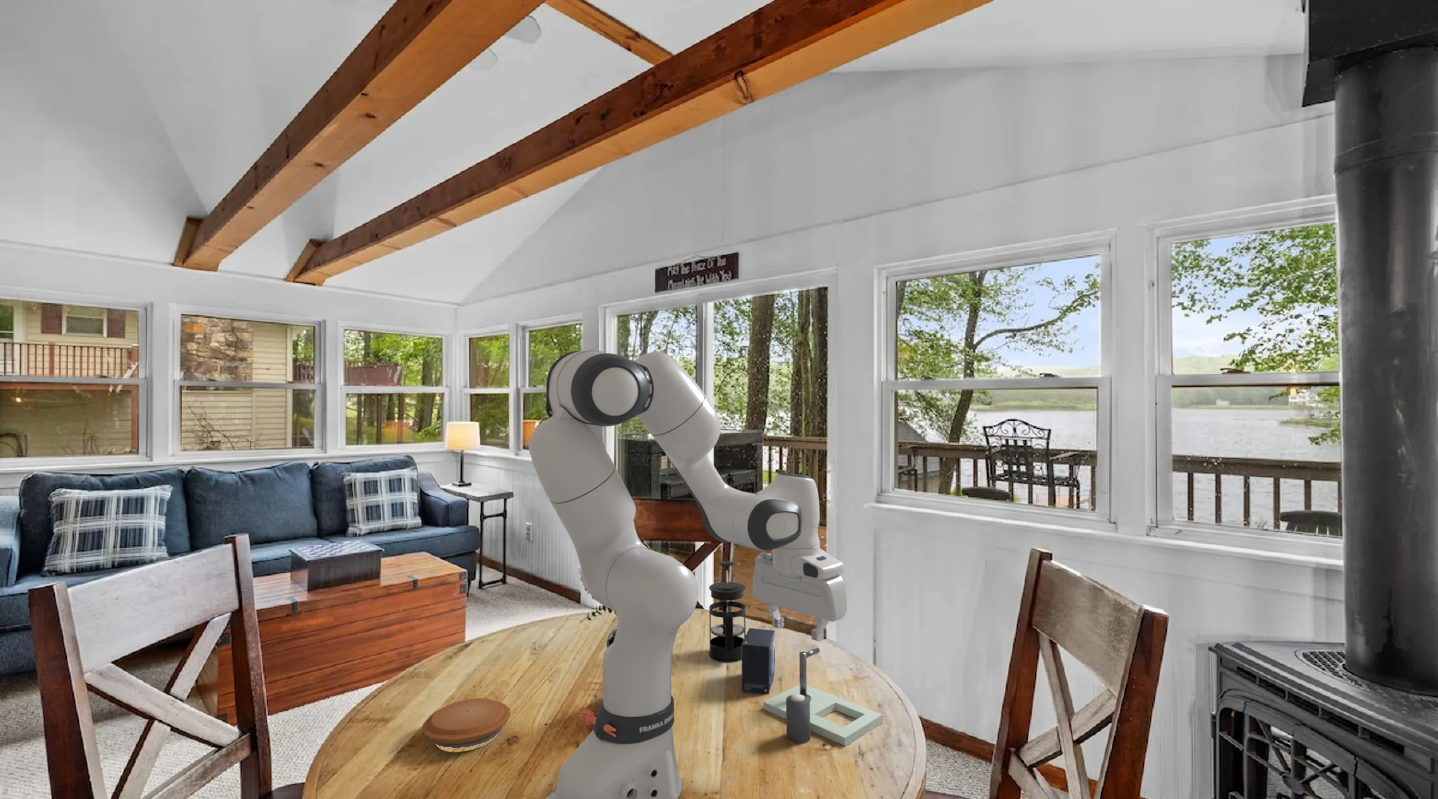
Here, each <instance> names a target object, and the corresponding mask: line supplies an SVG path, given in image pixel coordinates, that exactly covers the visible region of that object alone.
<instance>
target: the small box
mask: <svg viewBox="0 0 1438 799" xmlns="http://www.w3.org/2000/svg"><path fill="white" fill-rule="evenodd" d="M775 632H776V631H775V630H773V629H763V628H752V627H749V628H748V630H747V631H746V636H745V638H744V637H743V639H744V640H743V642H742V660H741V686H740V687H741V692H746V693H754V694H755V693H756V694H766V695H769V694H770V691H771V687H772V684H773V681H774V678H775V674H776V672H775V671H776V638H775V637H776V636H775V635H776V633H775Z"/></svg>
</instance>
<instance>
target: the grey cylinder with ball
mask: <svg viewBox="0 0 1438 799" xmlns="http://www.w3.org/2000/svg"><path fill="white" fill-rule="evenodd" d="M785 723H786V724H785V725H786V727H785V729H786V735H785V736H786V740H788V741H789V742H790V743H793V744H799V745H801V744H806V743H808V742H810V740H811V730H810V699H809V698H808V697H806V696H804V695H800V694H794V695H790V696H788V697H787V698H786V719H785Z"/></svg>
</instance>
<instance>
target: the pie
mask: <svg viewBox="0 0 1438 799" xmlns="http://www.w3.org/2000/svg"><path fill="white" fill-rule="evenodd" d="M511 713H512V712H511V708H510V707H509V706H508V705H506V703H503V702H501V701H499V700H494V699H491V698H482V697H481V698H467V699H463V700H458V701H456V702H452V703H449V704H447V705H445V706H443V707H441V708H440V709H437V710H435V711H434V712H432V714H430V715H429V716H428V717H427V719H426V720H425V721H424V722H423V723H422V729H421V730H422V732H423V734H424V735H425V736H426V737H427V738H428V739H430V740H431V742H432V743H433V744H434V743H435V744H437V745H439V746H443V747H452V748H461V747H470V746H474V745H477V744H481V743H484V742H487V741H489V740H490V739H492V738H494V737H495V736H496V735H497V734H498V733H499V732H500V733H501V731H502V729H503V728H504V727H505V725H506V724H507V722H508V721H509V719H510V717H511ZM500 733H499V734H500ZM435 744H434V745H435Z"/></svg>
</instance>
